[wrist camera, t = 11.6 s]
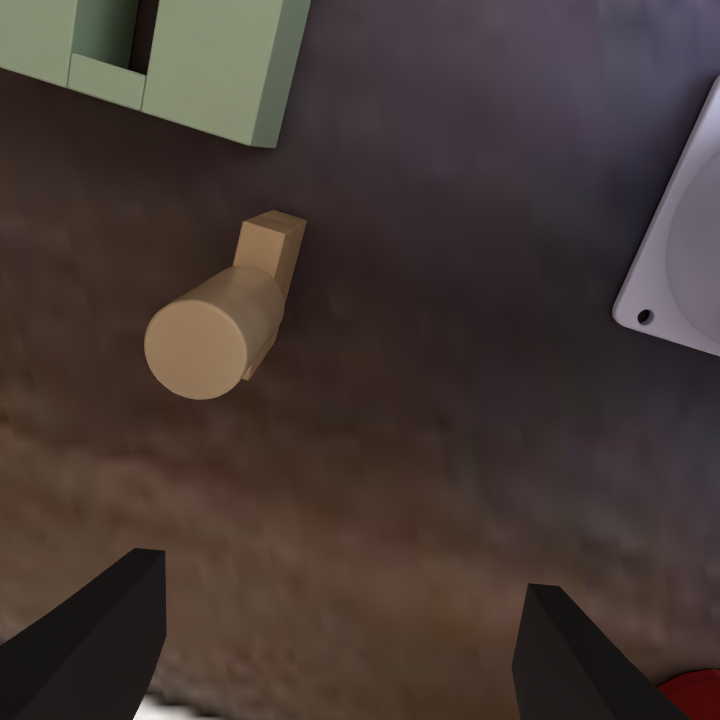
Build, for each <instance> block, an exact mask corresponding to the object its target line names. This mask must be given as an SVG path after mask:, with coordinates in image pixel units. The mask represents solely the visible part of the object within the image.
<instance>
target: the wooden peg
mask: <svg viewBox="0 0 720 720" xmlns="http://www.w3.org/2000/svg"><path fill="white" fill-rule="evenodd" d="M306 223H307V221H306V220H304V219H301V218H298V217H295V216H292V215H288V214H285V213H282V212H279V211H276V210H271V211H269V212H266V213H263V214H261V215H258V216H255V217H253V218H250V219H248V220H245V221H243V223H242V227H241V231H240V236H239V240H238V244H237V249H236V253H235V257H234V262H233V266H232V267H229V268H227V269H225V270H223V271H221V272H220V273H218V274H216V275H215V276H213V277H212V278H210V279H208V280H207V281H205V282H203V283H202V284H200V285H199V286H197V287H195V288H194V289H192V290H190V291H189V292H187V293H186V294H184V295H182V296H181V297H179V298H177V299H176V300H174V301H173V302H171V303H169V304H168V305H166V306H165V307H163V308H162V309H160V310H159V311H158V312H157V313H156V314H155V315H154V317H153V318H152V319H151V321H150V323H149V325H148V327H147V330H146V333H145V340H144V350H145V356H146V359H147V363H148V365H149V367H150V369H151V371H152V372H153V374H154V375H155V377H156V378H157V379H158V380H159V381H160V382H161V383H162V384H163V385H164V386H165V387H166V388H168V389H169V390H171V391H172V392H174V393H176V394H178V395H180V396H183V397H186V398H191V399H211V398H215V397H218V396H221V395H223V394H225V393H227V392H228V391H230V390H231V389H232V388H233V387H234V386H235V385H236V384H237V383H238V382H239V381H240V379H244V380H249V379H250V377H251V376H252V374H253V373H254V371H255V370H256V369H257V367H258V366H259V364H260V363H261V361H262V360H263V358H264V357H265V356H266V354H267V353H268V351H269V350H270V348H271V347H272V345H273V344H274V342H275V340H276V337H277V333H278V329H279V325H280V323H281V321H282V318H283V315H284V306H285V303H286V299H287V295H288V291H289V288H290V284H291V280H292V276H293V272H294V269H295V265H296V261H297V257H298V254H299V250H300V246H301V242H302V238H303V235H304V231H305V227H306Z"/></svg>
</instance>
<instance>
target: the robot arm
mask: <svg viewBox="0 0 720 720" xmlns="http://www.w3.org/2000/svg"><path fill="white" fill-rule="evenodd" d="M645 309H647V310H649V312H650V314H649V317H648V319H647V320H646V321H643V322H638V319H637V318H638V314H639V313H640V312H641V311H643V310H645ZM612 315H613V318H614V319H615V321H616V322H617V323H619V324H620V325H622V326H624V327H627V328H630V329H633V330H637V331H640V332H643V333H646V334H649V335H653V336H656V337H659V338H662V339H666V340H669V341H672V342H675V343H678V344H682V345H685V346H688V347H691V348H694V349H698V350H701V351H704V352H707V353H710V354H714V355H717V356H720V75H719V76H718V77H717V79H716V80H715V82H714V83H713V86H712V88H711V90H710V92H709V94H708V97H707V99H706V101H705V103H704V105H703V108H702V110H701V112H700V114H699V117H698V119H697V121H696V123H695V125H694V128H693V130H692V132H691V134H690V137H689V139H688V141H687V143H686V145H685V148H684V150H683V152H682V154H681V157H680V159H679V161H678V163H677V165H676V168H675V170H674V172H673V174H672V177H671V179H670V181H669V183H668V185H667V188H666V190H665V192H664V194H663V197H662V199H661V201H660V203H659V205H658V208H657V210H656V212H655V214H654V217H653V219H652V221H651V223H650V225H649V228H648V230H647V232H646V234H645V236H644V239H643V241H642V243H641V245H640V248H639V250H638V252H637V254H636V256H635V259H634V261H633V263H632V265H631V268H630V270H629V272H628V274H627V276H626V279H625V281H624V283H623V285H622V288H621V290H620V292H619V294H618V296H617V299H616V301H615V303H614V305H613V309H612ZM165 638H166V577H165V551H162V550H151V549H140V548H134V549H133V550H131V551H130V552H129V553H127V554H126V555H125V556H123V557H122V558H121V559H119V560H118V561H117V562H115V563H114V564H113V565H112V566H110V567H109V568H108V569H106V570H105V571H104V572H102V573H101V574H100V575H99V576H97V577H96V578H95V579H93V580H92V581H91V582H89V583H88V584H87V585H86V586H84V587H83V588H82V589H80V590H79V591H78V592H76V593H75V594H74V595H72V596H71V597H70V598H68V599H67V600H66V601H64V602H63V603H61V604H60V605H59V606H57V607H56V608H55V609H53V610H52V611H51V612H49V613H48V614H46V615H45V616H43V617H42V618H40V619H39V620H38V621H36V622H35V623H33V624H32V625H30V626H29V627H27V628H26V629H24V630H23V631H21V632H20V633H18V634H17V635H16V636H14V637H13V638H11V639H10V640H8V641H7V642H5V643H4V644H2V645H1V646H0V720H133V718H134V716H135V714H136V712H137V710H138V708H139V706H140V704H141V702H142V700H143V697H144V695H145V693H146V691H147V689H148V687H149V684H150V681H151V679H152V676H153V673H154V670H155V667H156V665H157V662H158V659H159V656H160V653H161V650H162V647H163V644H164V641H165ZM512 672H513V678H514V684H515V691H516V697H517V702H518V708H519V714H520V719H521V720H691V719H690V718H689V717H688V716H687V715H686V714H685V713H683V712H682V711H681V710H680V709H679V708H678V707H677V706H676V705H675V704H674V703H673V702H672V701H671V700H670V699H668V698H667V697H666V696H665V695H664V694H663V693H662V692H661V691H660V690H659V689H658V688H657V687H656V686H654V685H653V684H652V683H651V682H650V681H649V680H648V679H647V678H646V677H645V676H644V675H643V674H642V673H641V672H640V671H639V670H638V669H637V668H636V667H635V666H634V665H633V664H632V663H631V662H630V661H629V660H628V659H627V658H626V657H625V656H624V655H623V654H622V653H621V651H620V650H619V649H618V648H617V647H616V646H615V645H614V644H613V643H612V642H611V641H610V640H609V639H608V638H607V637H606V636H605V635H604V634H603V633H602V631H601V630H600V629H599V628H598V627H597V626H596V625H595V624H594V623H593V622H592V621H591V620H590V619H589V617H588V616H587V615H586V614H585V613H584V612H583V611H582V610H581V609H580V608H579V607H578V605H577V604H576V603H575V602H574V601H573V600H572V599H571V598H570V597H569V596H568V595H567V594H566V593H565V592H564V591H563V590H562V589H561V588H560V587H559V586H552V585H541V584H530V583H528V587H527V592H526V597H525V602H524V607H523V612H522V617H521V622H520V627H519V632H518V637H517V642H516V647H515V652H514V657H513V662H512Z"/></svg>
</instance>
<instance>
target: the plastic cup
mask: <svg viewBox="0 0 720 720" xmlns="http://www.w3.org/2000/svg"><path fill="white" fill-rule="evenodd" d="M658 689H659V690H660V691H661V692H662V693H663V694H664V695H665V696H666V697H667V698H668V699H670V700H671V701H672V702H673V703H674V704H675V705H676V706H677V707H678V708H679V709H680V710H681V711H682V712H683V713H685V714H686V715H687V716H688V717H689V718H690V719H691V720H720V670H716V669H709V670H703V671H697V672H691V673H685V674H682V675H680V676H678V677H676V678H674V679H672V680H670V681H668V682H666V683H664V684H662V685H660V686H659V687H658Z"/></svg>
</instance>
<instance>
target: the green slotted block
mask: <svg viewBox="0 0 720 720" xmlns="http://www.w3.org/2000/svg"><path fill="white" fill-rule="evenodd" d="M310 3H311V0H159V6H158V12H157V18H156V24H155V30H154V36H153V42H152V48H151V54H150V60H149V66H148V72H147V76H146V75H143V74H140V73H136V72H133V71H130V70H128V68H129V61H130V55H131V48H132V42H133V36H134V29H135V23H136V16H137V10H138V4H139V0H0V68H3V69H7V70H10V71H13V72H16V73H19V74H22V75H26V76H29V77H32V78H35V79H38V80H42V81H45V82H48V83H51V84H54V85H57V86H61V87H64V88H68V89H70V90H73V91H76V92H80V93H83V94H86V95H89V96H92V97H95V98H99V99H102V100H105V101H108V102H111V103H114V104H118V105H121V106H124V107H127V108H130V109H133V110H137V111H141V112H143V113H146V114H149V115H152V116H156V117H159V118H162V119H165V120H168V121H171V122H175V123H178V124H181V125H184V126H187V127H190V128H194V129H197V130H200V131H203V132H206V133H209V134H213V135H216V136H219V137H222V138H225V139H228V140H232V141H235V142H238V143H241V144H244V145H247V146H254V147H263V148H273V149H275V148H276V145H277V141H278V137H279V133H280V129H281V125H282V120H283V116H284V112H285V108H286V104H287V99H288V95H289V91H290V87H291V83H292V79H293V74H294V70H295V66H296V62H297V58H298V53H299V49H300V45H301V41H302V37H303V33H304V28H305V24H306V20H307V16H308V12H309V7H310Z"/></svg>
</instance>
